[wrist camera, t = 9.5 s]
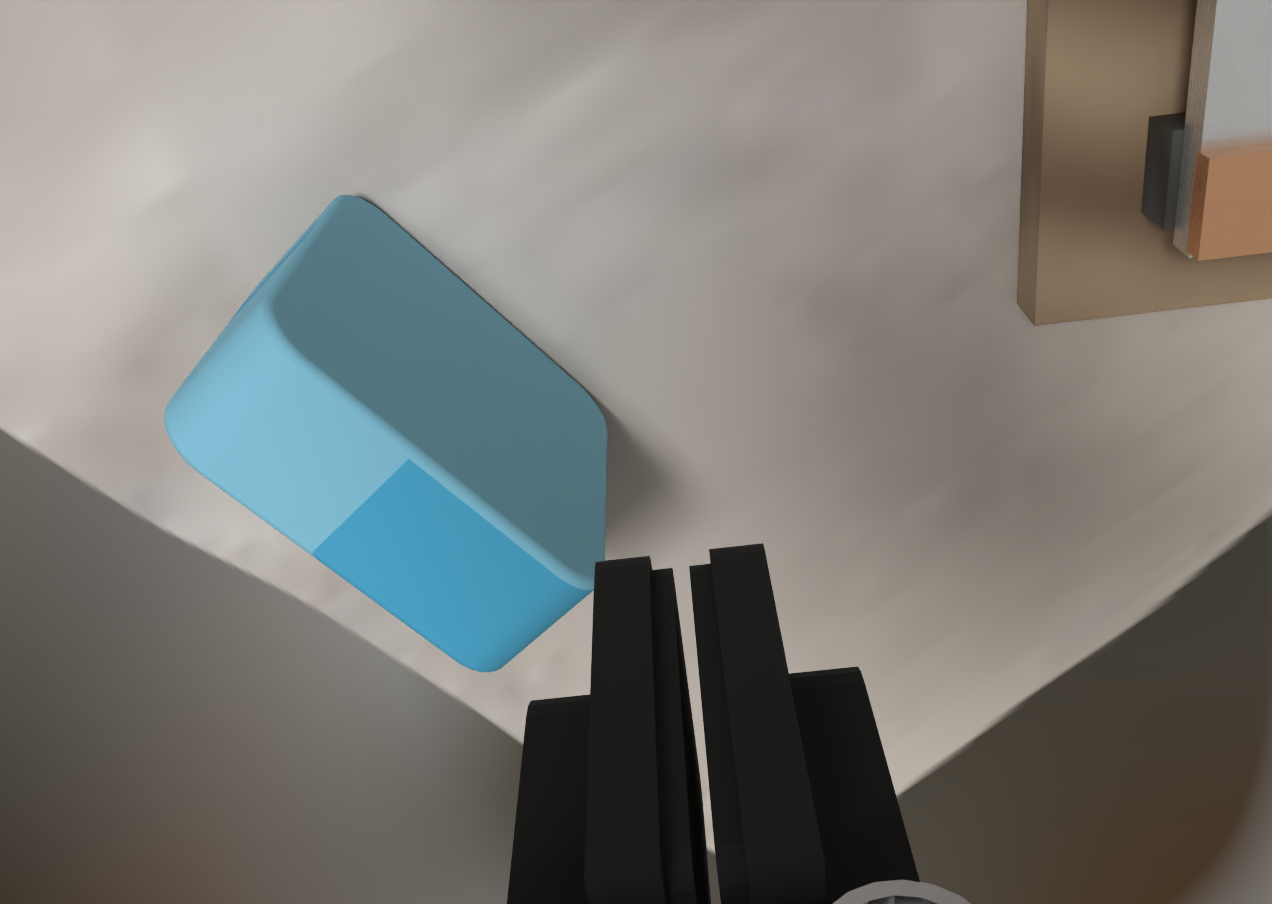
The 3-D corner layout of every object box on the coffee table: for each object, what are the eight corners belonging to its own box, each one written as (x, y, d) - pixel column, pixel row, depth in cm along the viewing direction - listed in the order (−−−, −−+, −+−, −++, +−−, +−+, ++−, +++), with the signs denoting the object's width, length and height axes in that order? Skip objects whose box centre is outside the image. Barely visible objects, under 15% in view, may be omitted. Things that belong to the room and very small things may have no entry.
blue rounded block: (266, 272, 40) (141, 436, 30) (349, 179, 39) (248, 317, 28) (526, 486, 45) (498, 697, 34) (610, 409, 43) (608, 604, 32)
